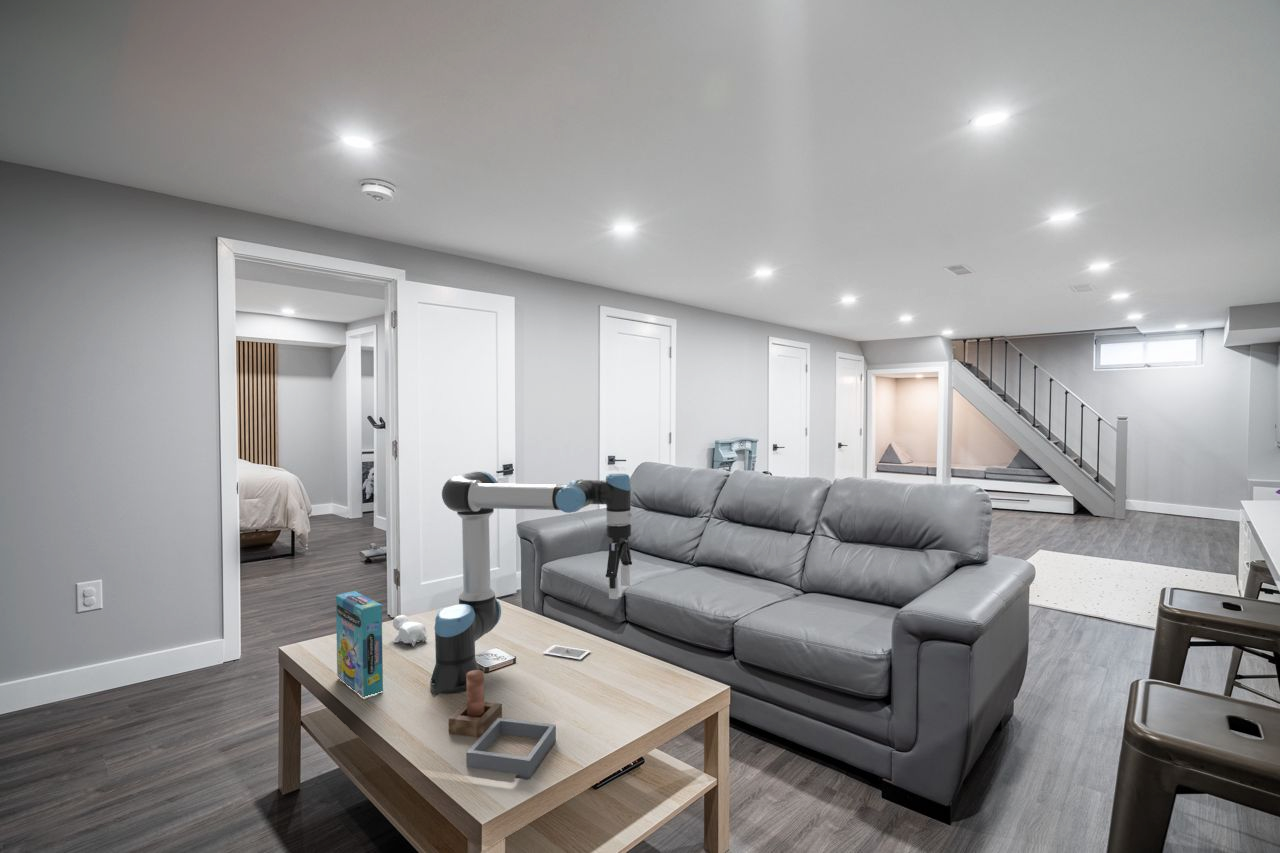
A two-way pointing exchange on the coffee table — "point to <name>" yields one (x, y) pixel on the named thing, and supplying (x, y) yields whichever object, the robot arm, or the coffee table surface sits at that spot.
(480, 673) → the dowel
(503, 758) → the tray
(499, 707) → the socket block
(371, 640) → the game box
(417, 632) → the white animal figurine
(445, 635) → the robot arm
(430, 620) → the coffee table surface
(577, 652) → the touchpad
